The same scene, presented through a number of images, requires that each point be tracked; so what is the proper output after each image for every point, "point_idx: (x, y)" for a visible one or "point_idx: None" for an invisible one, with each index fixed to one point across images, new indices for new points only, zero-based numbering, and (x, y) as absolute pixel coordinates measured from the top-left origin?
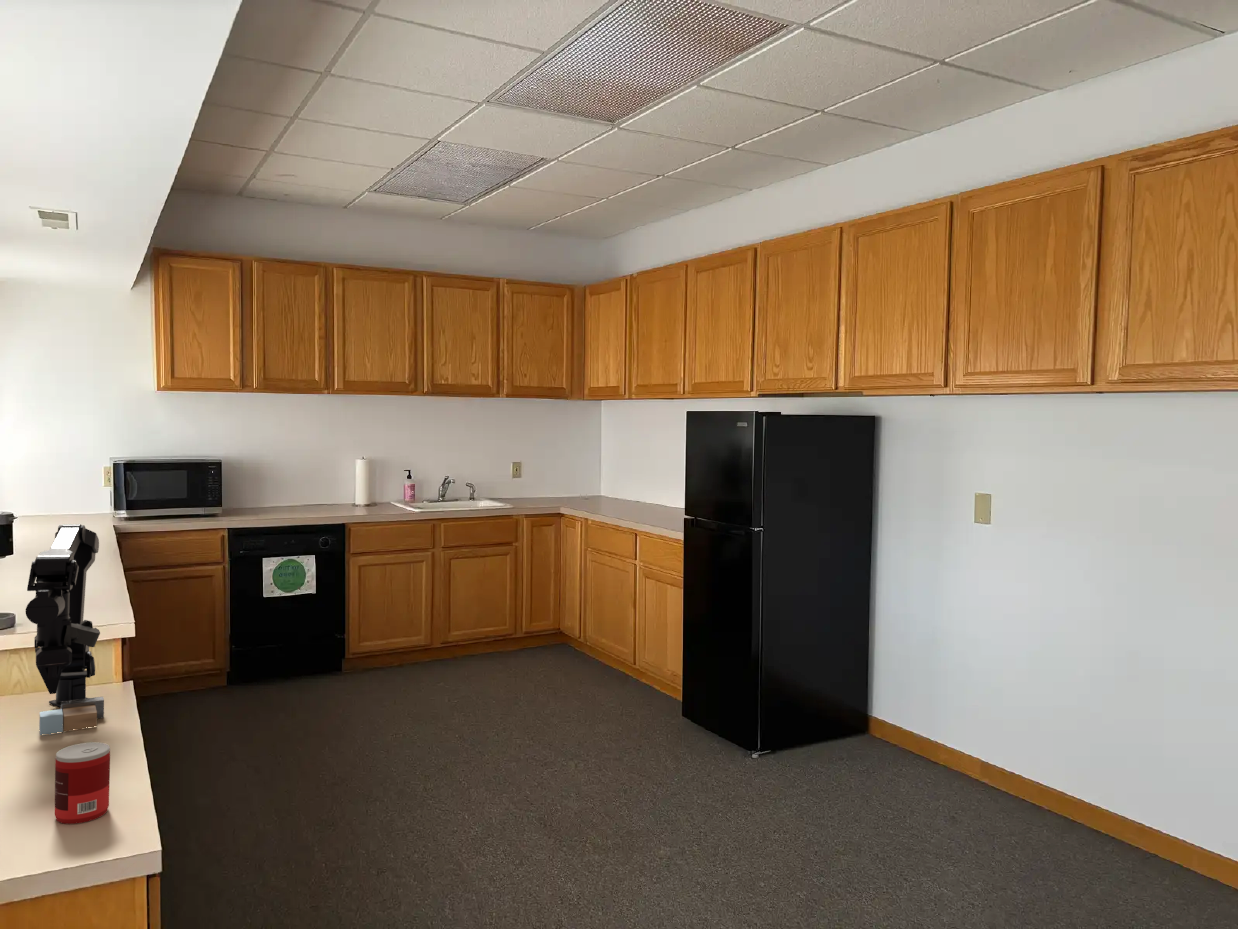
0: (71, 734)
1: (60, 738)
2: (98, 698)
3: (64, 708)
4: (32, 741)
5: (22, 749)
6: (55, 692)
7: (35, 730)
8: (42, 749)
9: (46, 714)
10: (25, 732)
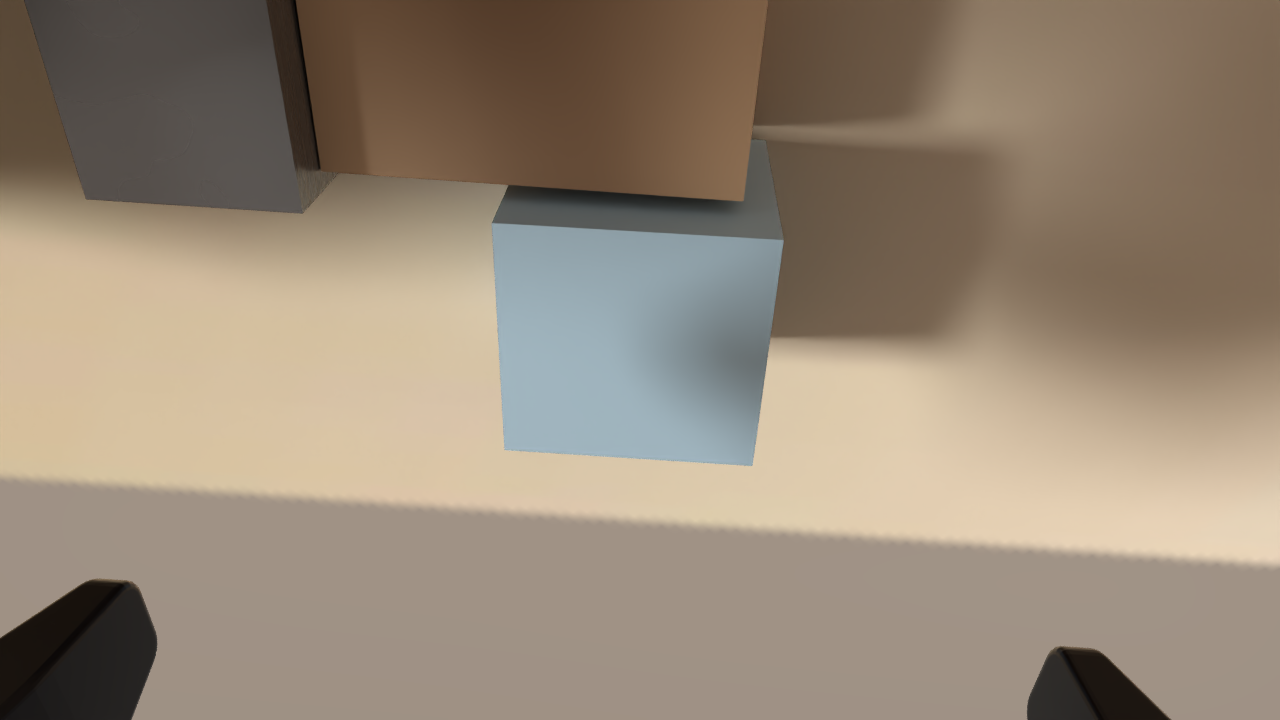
0: (896, 58)
1: (969, 181)
2: None
3: (323, 154)
4: (885, 402)
5: (1069, 481)
6: (1110, 668)
7: None
8: (1213, 357)
9: (673, 405)
10: None
